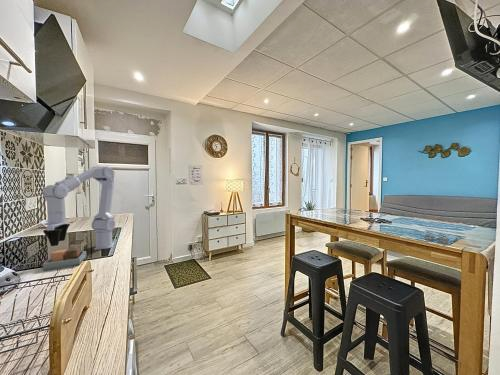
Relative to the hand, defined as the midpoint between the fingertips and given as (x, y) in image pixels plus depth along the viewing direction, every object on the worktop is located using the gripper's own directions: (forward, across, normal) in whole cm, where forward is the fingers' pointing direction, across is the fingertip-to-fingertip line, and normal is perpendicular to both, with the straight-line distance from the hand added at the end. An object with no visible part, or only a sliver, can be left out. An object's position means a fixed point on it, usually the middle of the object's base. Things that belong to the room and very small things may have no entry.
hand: (58, 243), depth 92 cm
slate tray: (+9, 0, +2) cm, 10 cm away
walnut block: (+9, 0, +5) cm, 10 cm away
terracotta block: (+9, 0, 0) cm, 9 cm away
